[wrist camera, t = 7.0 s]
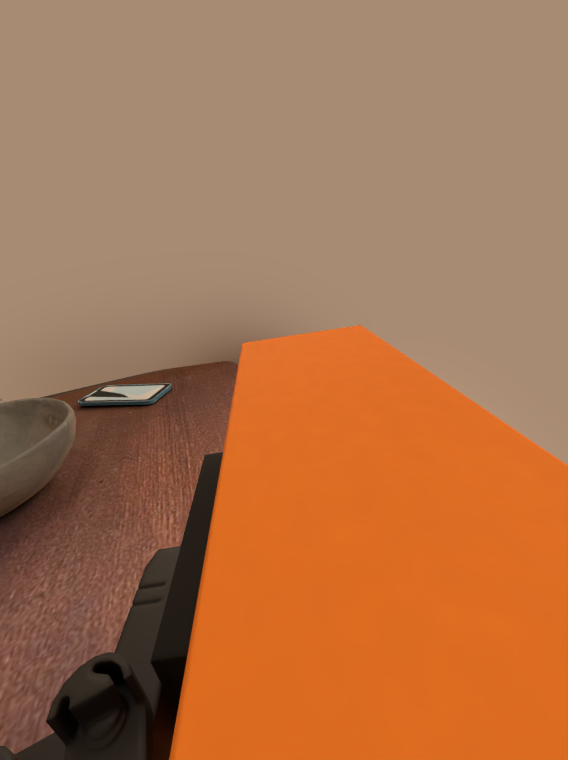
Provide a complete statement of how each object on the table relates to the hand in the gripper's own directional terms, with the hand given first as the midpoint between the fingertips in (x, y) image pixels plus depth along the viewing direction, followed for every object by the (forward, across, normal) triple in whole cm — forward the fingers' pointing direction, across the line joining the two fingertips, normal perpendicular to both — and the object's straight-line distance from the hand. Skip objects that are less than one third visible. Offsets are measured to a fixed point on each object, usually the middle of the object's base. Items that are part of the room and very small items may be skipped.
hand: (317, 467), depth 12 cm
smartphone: (+44, -28, -13) cm, 54 cm away
